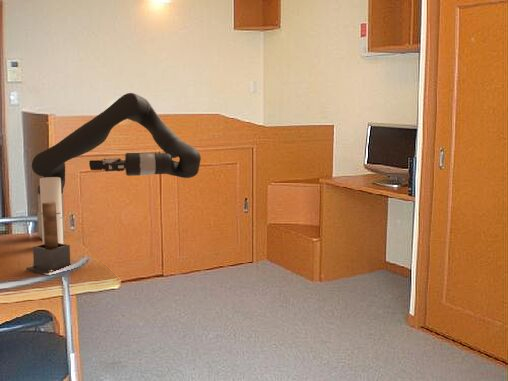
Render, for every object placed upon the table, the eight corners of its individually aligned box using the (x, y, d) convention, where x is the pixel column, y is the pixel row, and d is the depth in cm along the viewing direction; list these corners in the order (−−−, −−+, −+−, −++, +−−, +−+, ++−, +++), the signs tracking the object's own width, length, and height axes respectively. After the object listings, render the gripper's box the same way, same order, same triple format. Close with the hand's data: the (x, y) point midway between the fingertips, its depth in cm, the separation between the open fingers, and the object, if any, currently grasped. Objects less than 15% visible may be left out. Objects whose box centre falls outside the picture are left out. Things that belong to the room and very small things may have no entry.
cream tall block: (38, 247, 220) (35, 178, 216) (53, 243, 226) (50, 176, 222) (52, 250, 216) (49, 180, 213) (67, 245, 223) (65, 177, 219)
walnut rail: (43, 266, 192) (39, 203, 189) (53, 263, 195) (49, 201, 192) (51, 268, 190) (48, 204, 187) (62, 265, 193) (58, 202, 190)
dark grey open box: (26, 270, 191) (25, 247, 190) (54, 262, 200) (53, 240, 199) (50, 276, 185) (49, 251, 184) (77, 267, 194) (77, 244, 193)
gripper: (137, 151, 208) (88, 151, 203) (142, 154, 195) (90, 155, 190) (138, 172, 209) (89, 174, 205) (143, 178, 196) (90, 179, 191)
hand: (89, 165), depth 197 cm, fingers open, 8 cm apart
